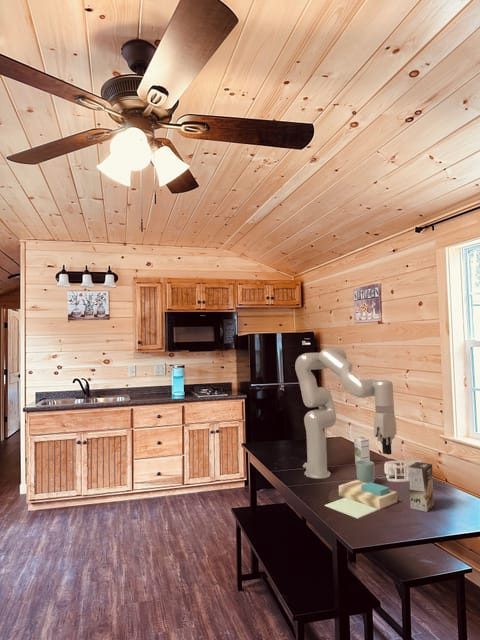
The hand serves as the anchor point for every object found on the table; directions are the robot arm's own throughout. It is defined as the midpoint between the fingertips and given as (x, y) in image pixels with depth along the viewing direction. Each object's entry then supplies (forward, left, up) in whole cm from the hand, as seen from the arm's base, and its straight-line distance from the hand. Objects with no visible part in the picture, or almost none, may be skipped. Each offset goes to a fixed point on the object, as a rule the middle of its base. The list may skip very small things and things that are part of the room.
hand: (387, 453), depth 178 cm
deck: (-4, -9, -18) cm, 20 cm away
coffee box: (+15, 0, -18) cm, 23 cm away
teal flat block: (0, -9, -14) cm, 16 cm away
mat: (-2, -22, -18) cm, 28 cm away
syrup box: (-34, +28, -18) cm, 48 cm away
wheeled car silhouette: (-10, +28, -18) cm, 35 cm away
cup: (-15, +5, -18) cm, 24 cm away
